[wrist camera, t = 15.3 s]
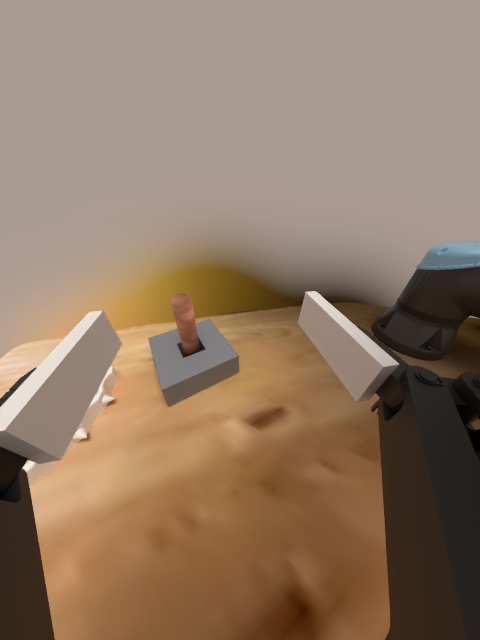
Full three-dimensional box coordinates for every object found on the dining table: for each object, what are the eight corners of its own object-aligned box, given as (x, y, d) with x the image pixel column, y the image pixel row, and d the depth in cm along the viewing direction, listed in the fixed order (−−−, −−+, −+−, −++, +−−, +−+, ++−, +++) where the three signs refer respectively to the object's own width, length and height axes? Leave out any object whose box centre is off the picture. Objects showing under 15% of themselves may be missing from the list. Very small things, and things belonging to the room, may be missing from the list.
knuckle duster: (72, 369, 37) (138, 375, 36) (-52, 484, 22) (54, 499, 21) (62, 358, 35) (132, 364, 34) (-81, 476, 20) (35, 493, 19)
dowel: (199, 355, 39) (187, 292, 30) (204, 365, 37) (193, 300, 28) (185, 361, 38) (168, 296, 29) (189, 371, 36) (173, 305, 27)
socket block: (211, 334, 46) (209, 318, 43) (238, 372, 36) (238, 355, 33) (154, 354, 40) (148, 338, 37) (168, 406, 30) (161, 390, 27)
